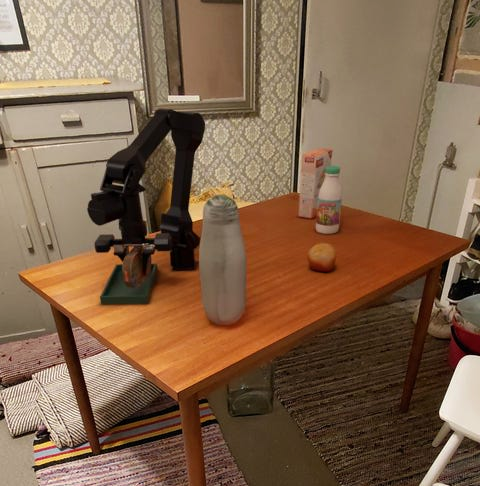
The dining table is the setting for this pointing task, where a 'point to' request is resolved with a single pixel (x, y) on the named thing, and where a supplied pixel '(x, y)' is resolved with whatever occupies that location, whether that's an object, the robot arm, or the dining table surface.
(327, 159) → the cracker box
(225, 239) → the glass bottle
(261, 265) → the dining table surface
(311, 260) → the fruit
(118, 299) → the tray
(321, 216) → the milk bottle
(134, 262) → the tin
